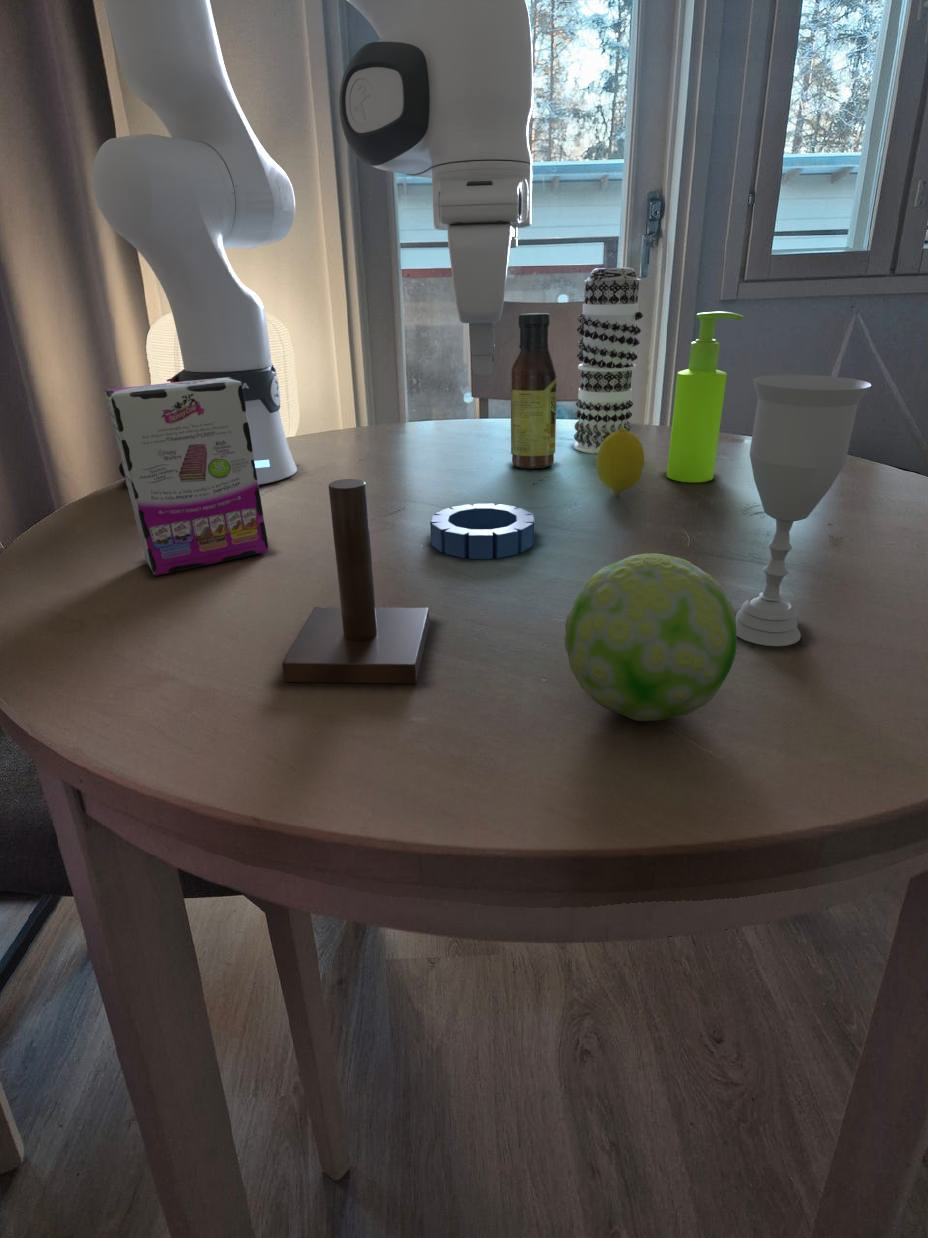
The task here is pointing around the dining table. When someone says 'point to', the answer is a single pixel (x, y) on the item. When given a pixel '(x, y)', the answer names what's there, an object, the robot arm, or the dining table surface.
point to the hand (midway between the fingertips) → (484, 368)
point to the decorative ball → (651, 637)
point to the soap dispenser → (698, 407)
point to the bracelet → (482, 531)
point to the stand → (356, 613)
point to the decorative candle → (606, 355)
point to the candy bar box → (189, 471)
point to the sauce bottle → (533, 396)
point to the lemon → (620, 460)
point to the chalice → (794, 477)
